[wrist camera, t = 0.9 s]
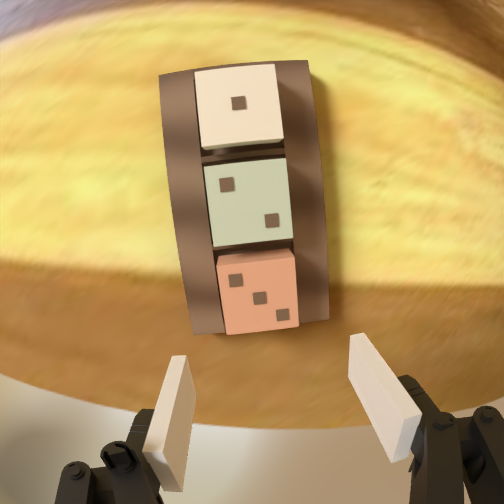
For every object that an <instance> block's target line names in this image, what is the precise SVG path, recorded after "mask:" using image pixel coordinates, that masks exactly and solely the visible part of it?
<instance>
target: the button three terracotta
mask: <svg viewBox="0 0 504 504" xmlns="http://www.w3.org/2000/svg"><path fill="white" fill-rule="evenodd" d="M216 267H217V274H218V281H219V287H220V294H221V301H222V307H223V314H224V320H225V327H226V333H227V335H232V334H242V333H251V332H260V331H268V330H276V329H284V328H292V327H299V319H298V301H297V285H296V270H295V257H294V255H293V254H292V252H291V251H290V250H289V248H286V249H277V250H268V251H259V252H250V253H241V254H232V255H224V256H219V257H218V261H217V266H216Z"/></svg>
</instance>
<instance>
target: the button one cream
mask: <svg viewBox="0 0 504 504" xmlns="http://www.w3.org/2000/svg"><path fill="white" fill-rule="evenodd" d="M195 84H196V95H197V106H198V116H199V126H200V136H201V146H202V148H204V149H205V150H210V149H218V148H226V147H235V146H244V145H254V144H265V143H277V142H280V141H281V140H282V139H283V138H284V137H283V128H282V119H281V111H280V103H279V95H278V87H277V79H276V72H275V65H274V64H264V65H250V66H239V67H229V68H220V69H212V70H205V71H198V72H195Z"/></svg>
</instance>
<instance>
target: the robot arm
mask: <svg viewBox="0 0 504 504" xmlns="http://www.w3.org/2000/svg"><path fill="white" fill-rule="evenodd" d="M348 378H349V380H350V382H351V384H352V386H353V388H354V389H355V391H356V393H357V395H358V397H359V399H360V401H361V403H362V405H363V407H364V409H365V411H366V413H367V415H368V417H369V419H370V421H371V423H372V425H373V427H374V429H375V431H376V433H377V435H378V437H379V439H380V441H381V443H382V445H383V447H384V449H385V451H386V453H387V455H388V457H389V460H390V461H391V463H393V462H396V461H399V460H402V459H405V458H407V457H408V455H409V452H410V450H411V451H412V453H413V454H414V459H413V461H412V463H411V466H410V468H409V472H411V470H412V478H411V491H410V501H409V504H464V485H463V481H464V484H465V487H466V489H467V492H468V495H469V498H470V501H471V504H504V419H503V417H502V416H501V414H500V412H499V411H498V410H497V409H496V408H494V407H491V406H481V407H479V408H477V409H476V411H475V412H474V414H473V416H471V417H464V418H455V417H454V416H453V415H452V414H450V413H447V412H440V410H439V409H438V408H437V406H436V405H435V404H434V403H433V401H432V400H431V399H430V397H429V396H428V395H427V393H425V391H424V390H423V388H421V386H420V385H419V383H418V382H417V381H416V379H414V378H412V377H410V376H409V375H404V376H400V377H396V376H395V374H394V373H393V372H392V370H391V369H390V368H389V366H388V365H387V363H386V362H385V361H384V359H383V358H382V357H381V355H380V354H379V353H378V351H377V350H376V349H375V347H374V346H373V344H372V343H371V342H370V340H369V339H368V338H367V336H366V335H365V334H364V333H360V334H354V335H350V351H349V370H348ZM196 398H197V395H196V391H195V387H194V383H193V379H192V375H191V371H190V367H189V363H188V359H187V355H181V356H172V358H171V361H170V364H169V367H168V370H167V373H166V376H165V379H164V382H163V385H162V389H161V392H160V395H159V398H158V401H157V404H156V407H155V409H142V410H141V411H140V412H139V413H138V414H137V415H136V416H135V418H134V421H133V423H132V426H131V429H130V432H129V434H128V437H127V440H126V442H123V441H114V442H112V443H109V444H107V445H106V446H105V447H104V448H103V449H102V451H101V455H100V457H101V459H102V460H103V462H104V463H105V465H106V467H99V468H91V469H90V467H89V466H88V465H87V464H86V463H84V462H80V461H76V462H71V463H69V464H67V465H66V466H65V467H64V469H63V471H62V473H61V477H60V482H59V486H58V490H57V495H56V500H55V504H164V503H163V500H162V498H161V496H160V494H159V488H160V485H161V486H162V488H163V490H164V491H173V492H182V491H183V483H184V476H185V469H186V462H187V456H188V449H189V442H190V435H191V428H192V423H193V416H194V410H195V404H196Z"/></svg>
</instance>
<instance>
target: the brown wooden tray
mask: <svg viewBox="0 0 504 504" xmlns="http://www.w3.org/2000/svg"><path fill="white" fill-rule="evenodd" d="M264 64H274V65H275V72H276V79H277V87H278V95H279V103H280V111H281V119H282V128H283V137H284V138H283V139H282V140H281V141H280V142H277V143H265V144H254V145H244V146H235V147H226V148H218V149H210V150H205V149H204V148H202V146H201V136H200V126H199V116H198V106H197V95H196V84H195V72H198V71H205V70H212V69H220V68H229V67H239V66H250V65H264ZM159 89H160V103H161V115H162V127H163V138H164V148H165V157H166V166H167V175H168V183H169V191H170V199H171V206H172V214H173V221H174V228H175V234H176V241H177V247H178V253H179V259H180V265H181V271H182V277H183V283H184V288H185V294H186V299H187V304H188V309H189V315H190V320H191V325H192V330H193V334H194V335H203V334H214V333H225V332H226V327H225V320H224V314H223V307H222V301H221V294H220V287H219V281H218V274H217V267H216V266H217V261H218V257H219V256H224V255H232V254H241V253H250V252H259V251H268V250H277V249H286V248H289V250H290V251H291V252H292V254H293V255H294V257H295V270H296V285H297V301H298V319H299V324H301V323H308V322H315V321H322V320H328V319H329V284H328V256H327V236H326V219H325V205H324V192H323V180H322V169H321V158H320V148H319V139H318V130H317V122H316V114H315V106H314V99H313V91H312V85H311V78H310V71H309V65H308V60H288V61H265V62H251V63H239V64H229V65H220V66H212V67H205V68H198V69H191V70H185V71H179V72H174V73H168V74H163V75H159ZM281 158H286V165H287V175H288V185H289V196H290V207H291V218H292V230H293V238H288V239H279V240H270V241H261V242H252V243H243V244H234V245H225V246H217V247H214V245H213V237H212V230H211V222H210V214H209V206H208V198H207V190H206V182H205V173H204V167H207V166H214V165H222V164H231V163H240V162H249V161H259V160H270V159H281Z"/></svg>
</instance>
